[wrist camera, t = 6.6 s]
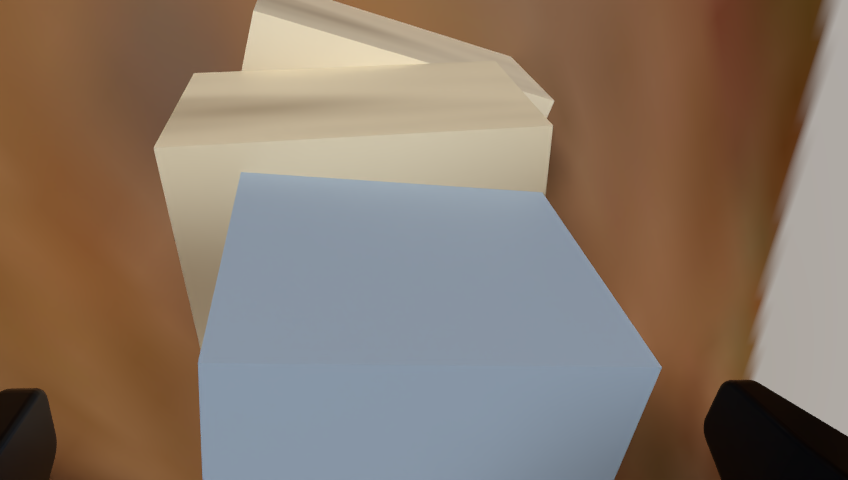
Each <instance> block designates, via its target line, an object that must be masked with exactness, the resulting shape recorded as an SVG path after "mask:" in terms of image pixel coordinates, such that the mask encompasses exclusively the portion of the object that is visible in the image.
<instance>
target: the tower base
mask: <svg viewBox="0 0 848 480" xmlns="http://www.w3.org/2000/svg"><path fill="white" fill-rule="evenodd" d="M477 61H496V62H497V64H498V65H499V66H500V67H501V68H502V69H503V70H504V71H505V73H506V74H507V75H508V76H509V77H510V78H511V79H512V80H513V81H514V83H515V84H516V85H517V86H518V87H519V88H520V89H521V90H522V92H523V93H524V94H525V95H526V96H527V97H528V98H529V99H530V101H531V102H532V103H533V104H534V105H535V106H536V107H537V108H538V109H539V111H540V112H541V113H542V114H543V115H544V116H545V117H546V118H547V117H548V114H549V112H550V110H551V107H552V105H553V103H554V100H553V99H552V98H551V97H550V96H549V95H548V94H547V93H546V92H545V91H544V90H543V89H542V88H541V87H540V86H539V85H538V84H537V83H536V82H535V81H534V80H533V79H532V78H531V77H530V76H529V75H528V74H527V73H526V72H525V71H524V70H523V69H522V67H521V66H520V65H519V64H518V63H517V62H516V61H515V60H514V59H513V58H512V57H510V56H507V55H504V54H501V53H497V52H494V51H491V50H488V49H485V48H481V47H478V46H475V45H472V44H469V43H466V42H462V41H459V40H456V39H453V38H450V37H447V36H443V35H440V34H437V33H434V32H431V31H428V30H424V29H421V28H418V27H415V26H412V25H409V24H405V23H402V22H399V21H396V20H393V19H389V18H386V17H383V16H380V15H377V14H374V13H370V12H367V11H364V10H361V9H358V8H355V7H351V6H348V5H345V4H342V3H339V2H336V1H332V0H257V3H256V5H255V8H254V11H253V16H252V21H251V26H250V31H249V36H248V41H247V46H246V51H245V56H244V61H243V66H242V71H261V70H285V69H309V68H333V67H357V66H381V65H405V64H429V63H453V62H477Z"/></svg>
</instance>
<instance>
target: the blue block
mask: <svg viewBox="0 0 848 480" xmlns="http://www.w3.org/2000/svg"><path fill="white" fill-rule="evenodd" d="M661 368H662V367H661V365H660V364H659V363H658V361H657V360H656V358H655V357H654V355H653V354H652V352H651V351H650V349H649V348H648V346H647V345H646V344H645V342H644V341H643V339H642V338H641V336H640V335H639V333H638V332H637V330H636V329H635V327H634V326H633V324H632V323H631V322H630V320H629V319H628V317H627V316H626V314H625V313H624V311H623V310H622V308H621V307H620V305H619V304H618V303H617V301H616V300H615V298H614V297H613V295H612V294H611V292H610V291H609V289H608V288H607V286H606V285H605V284H604V282H603V281H602V279H601V278H600V276H599V275H598V273H597V272H596V270H595V269H594V267H593V266H592V265H591V263H590V262H589V260H588V259H587V257H586V256H585V254H584V253H583V251H582V250H581V248H580V247H579V245H578V244H577V243H576V241H575V240H574V238H573V237H572V235H571V234H570V232H569V231H568V229H567V228H566V226H565V225H564V224H563V222H562V221H561V219H560V218H559V216H558V215H557V213H556V212H555V210H554V209H553V207H552V206H551V205H550V203H549V202H548V200H547V199H546V197H545V196H544V194H543V193H542V192H530V191H515V190H501V189H486V188H471V187H456V186H441V185H426V184H411V183H396V182H381V181H366V180H352V179H337V178H322V177H307V176H292V175H277V174H262V173H247V172H241V174H240V179H239V183H238V187H237V192H236V196H235V201H234V205H233V210H232V214H231V219H230V223H229V227H228V232H227V236H226V241H225V245H224V250H223V254H222V259H221V263H220V268H219V272H218V276H217V281H216V285H215V290H214V294H213V299H212V303H211V308H210V312H209V316H208V321H207V325H206V330H205V334H204V339H203V343H202V348H201V352H200V356H199V361H198V375H199V400H200V425H201V450H202V476H203V480H614V478H615V476H616V474H617V471H618V469H619V467H620V464H621V462H622V460H623V457H624V455H625V453H626V450H627V448H628V446H629V443H630V441H631V439H632V436H633V434H634V431H635V429H636V427H637V424H638V422H639V420H640V417H641V415H642V413H643V410H644V408H645V406H646V403H647V401H648V399H649V396H650V394H651V392H652V389H653V387H654V385H655V382H656V380H657V378H658V375H659V373H660V371H661Z"/></svg>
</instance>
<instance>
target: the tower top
mask: <svg viewBox="0 0 848 480" xmlns="http://www.w3.org/2000/svg"><path fill="white" fill-rule="evenodd" d="M552 130H553V125H552V124H551V123H550V122H549V121H548V120H547V118H546V117H545V116H544V115H543V114H542V113H541V112H540V111H539V109H538V108H537V107H536V106H535V105H534V104H533V103H532V102H531V101H530V99H529V98H528V97H527V96H526V95H525V94H524V93H523V92H522V90H521V89H520V88H519V87H518V86H517V85H516V84H515V83H514V81H513V80H512V79H511V78H510V77H509V76H508V75H507V74H506V73H505V71H504V70H503V69H502V68H501V67H500V66H499V65H498V64H497V62H496V61H477V62H453V63H429V64H405V65H381V66H357V67H333V68H309V69H285V70H261V71H237V72H212V73H194V74H193V76H192V78H191V80H190V82H189V84H188V85H187V87H186V89H185V91H184V93H183V95H182V96H181V98H180V100H179V102H178V104H177V106H176V108H175V109H174V111H173V113H172V115H171V117H170V119H169V120H168V122H167V124H166V126H165V128H164V130H163V131H162V133H161V135H160V137H159V139H158V141H157V143H156V144H155V146H154V152H155V156H156V160H157V165H158V169H159V173H160V177H161V182H162V186H163V190H164V195H165V199H166V203H167V207H168V212H169V216H170V220H171V225H172V229H173V233H174V238H175V242H176V246H177V250H178V255H179V259H180V263H181V268H182V272H183V276H184V280H185V285H186V289H187V293H188V298H189V302H190V306H191V311H192V315H193V319H194V323H195V328H196V332H197V336H198V341H199V345H200V349H201V348H202V343H203V339H204V334H205V330H206V325H207V321H208V316H209V312H210V308H211V303H212V299H213V294H214V290H215V285H216V281H217V276H218V272H219V268H220V263H221V259H222V254H223V250H224V245H225V241H226V236H227V232H228V227H229V223H230V219H231V214H232V210H233V205H234V201H235V196H236V192H237V187H238V183H239V179H240V174H241V172H247V173H262V174H277V175H292V176H307V177H322V178H337V179H352V180H366V181H381V182H396V183H411V184H426V185H441V186H456V187H471V188H486V189H501V190H515V191H530V192H542V193H543V194H544V196H545V194H546V185H547V176H548V167H549V158H550V149H551V139H552Z"/></svg>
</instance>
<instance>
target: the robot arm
mask: <svg viewBox="0 0 848 480" xmlns="http://www.w3.org/2000/svg"><path fill="white" fill-rule="evenodd" d="M704 435H705V438H706V441H707V444H708V446H709V449H710V452H711V454H712V457H713V459H714V462H715V464H716V467H717V470H718V472H719V475H720V477H721V480H848V436H846V435H844V434H843V433H841V432H839V431H838V430H836V429H834V428H833V427H831V426H829V425H828V424H826V423H824V422H822V421H821V420H820V419H818V418H816V417H815V416H813V415H811V414H809V413H808V412H806V411H805V410H803V409H801V408H799V407H798V406H796V405H794V404H793V403H791V402H789V401H788V400H786V399H784V398H783V397H781V396H780V395H778V394H776V393H774V392H773V391H771V390H769V389H768V388H766V387H765V386H763V385H761V384H760V383H758V382H756V381H752V380H729V381H726V382H724V383H723V384H722V385H721V387H720V388H719V390H718V392H717V394H716V397H715V399H714V401H713V403H712V405H711V407H710V409H709V411H708V414H707V416H706V418H705V421H704ZM56 446H57V440H56V433H55V429H54V424H53V420H52V416H51V411H50V407H49V402H48V398H47V395H46V394H45V392H44V391H43V390H41V389H38V388H19V389H6V390H3V391H1V392H0V480H49V478H50V474H51V470H52V466H53V463H54V459H55V454H56Z"/></svg>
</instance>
